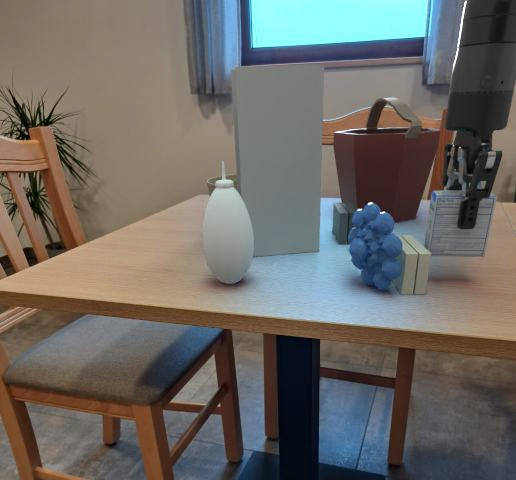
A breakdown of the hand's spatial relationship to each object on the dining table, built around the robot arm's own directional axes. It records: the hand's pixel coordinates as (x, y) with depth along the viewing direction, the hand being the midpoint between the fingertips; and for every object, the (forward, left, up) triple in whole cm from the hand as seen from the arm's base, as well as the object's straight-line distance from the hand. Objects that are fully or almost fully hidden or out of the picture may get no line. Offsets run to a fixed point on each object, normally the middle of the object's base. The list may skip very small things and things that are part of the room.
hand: (458, 223), depth 66 cm
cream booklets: (+7, 0, -9) cm, 11 cm away
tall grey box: (+25, -19, -9) cm, 33 cm away
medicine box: (0, 0, -5) cm, 5 cm away
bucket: (+1, -46, -9) cm, 47 cm away
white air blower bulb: (+33, -2, -9) cm, 35 cm away
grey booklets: (+12, -27, -9) cm, 31 cm away
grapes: (+13, +1, -9) cm, 16 cm away
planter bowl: (+32, -36, -9) cm, 49 cm away
